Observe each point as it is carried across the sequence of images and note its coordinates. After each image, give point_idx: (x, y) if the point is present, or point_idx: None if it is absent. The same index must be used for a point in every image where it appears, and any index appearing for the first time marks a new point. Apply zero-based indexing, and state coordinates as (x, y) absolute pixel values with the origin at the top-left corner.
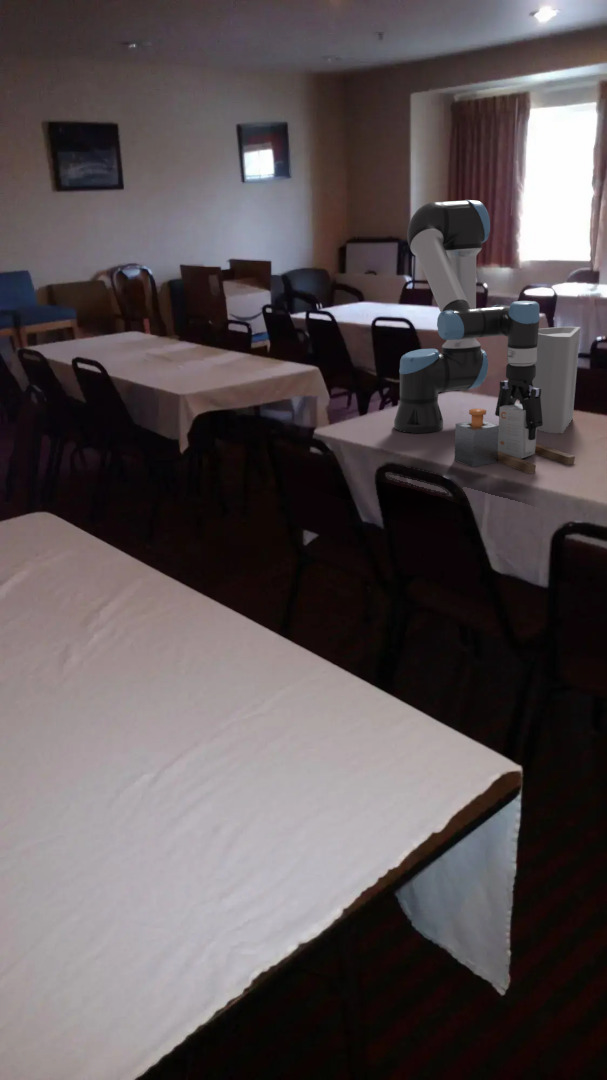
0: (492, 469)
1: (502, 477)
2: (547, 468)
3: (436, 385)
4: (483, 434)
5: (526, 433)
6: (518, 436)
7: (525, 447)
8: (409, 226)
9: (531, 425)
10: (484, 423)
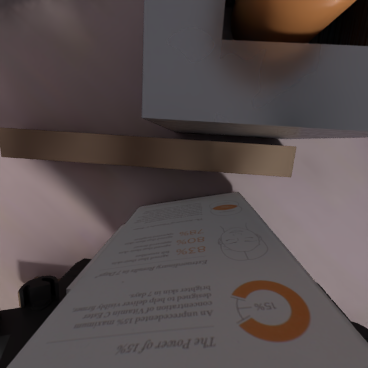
0: (121, 58)
1: (29, 22)
2: (38, 210)
3: None
4: None
5: (85, 267)
6: (130, 239)
7: (116, 232)
8: None
9: (21, 315)
10: (295, 58)
